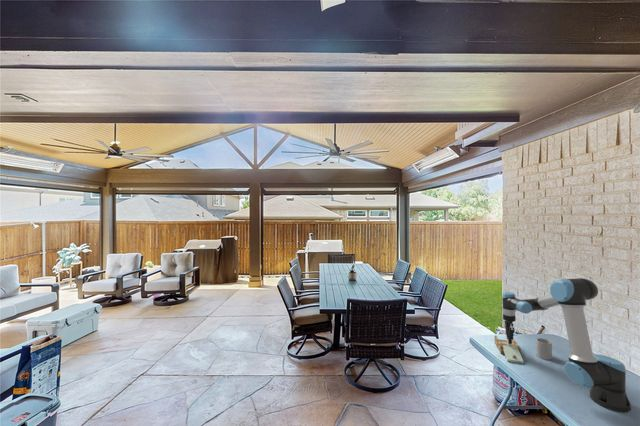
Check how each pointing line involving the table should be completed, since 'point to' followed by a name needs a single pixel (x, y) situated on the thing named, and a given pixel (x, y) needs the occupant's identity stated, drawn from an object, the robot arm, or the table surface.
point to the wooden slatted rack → (505, 344)
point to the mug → (544, 348)
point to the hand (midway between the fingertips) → (509, 347)
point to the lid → (512, 354)
